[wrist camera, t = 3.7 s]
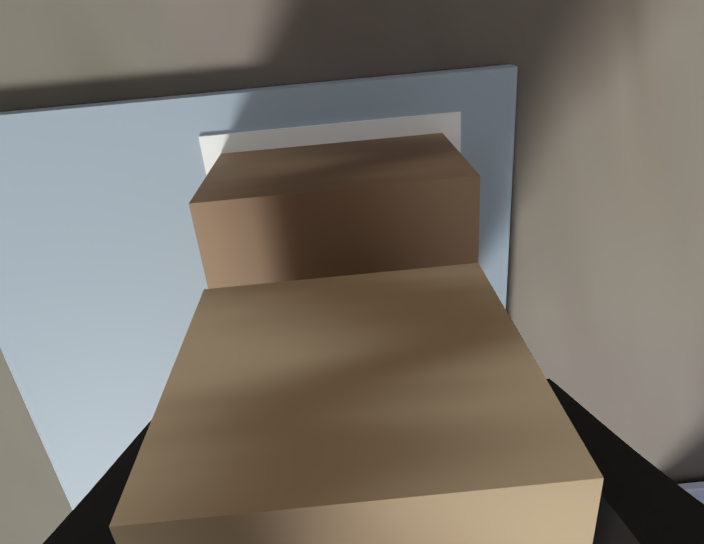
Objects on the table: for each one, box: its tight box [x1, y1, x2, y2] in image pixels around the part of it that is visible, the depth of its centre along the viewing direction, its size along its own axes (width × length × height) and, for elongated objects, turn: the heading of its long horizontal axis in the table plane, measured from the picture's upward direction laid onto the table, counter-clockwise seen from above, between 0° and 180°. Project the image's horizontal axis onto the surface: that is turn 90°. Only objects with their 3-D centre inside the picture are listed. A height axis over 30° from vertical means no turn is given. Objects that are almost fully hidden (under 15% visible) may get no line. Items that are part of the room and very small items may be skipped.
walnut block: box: [189, 133, 480, 289], centre depth 14 cm, size 6×6×4 cm
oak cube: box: [109, 263, 604, 544], centre depth 9 cm, size 5×5×5 cm
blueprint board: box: [0, 64, 518, 510], centre depth 18 cm, size 16×15×1 cm
